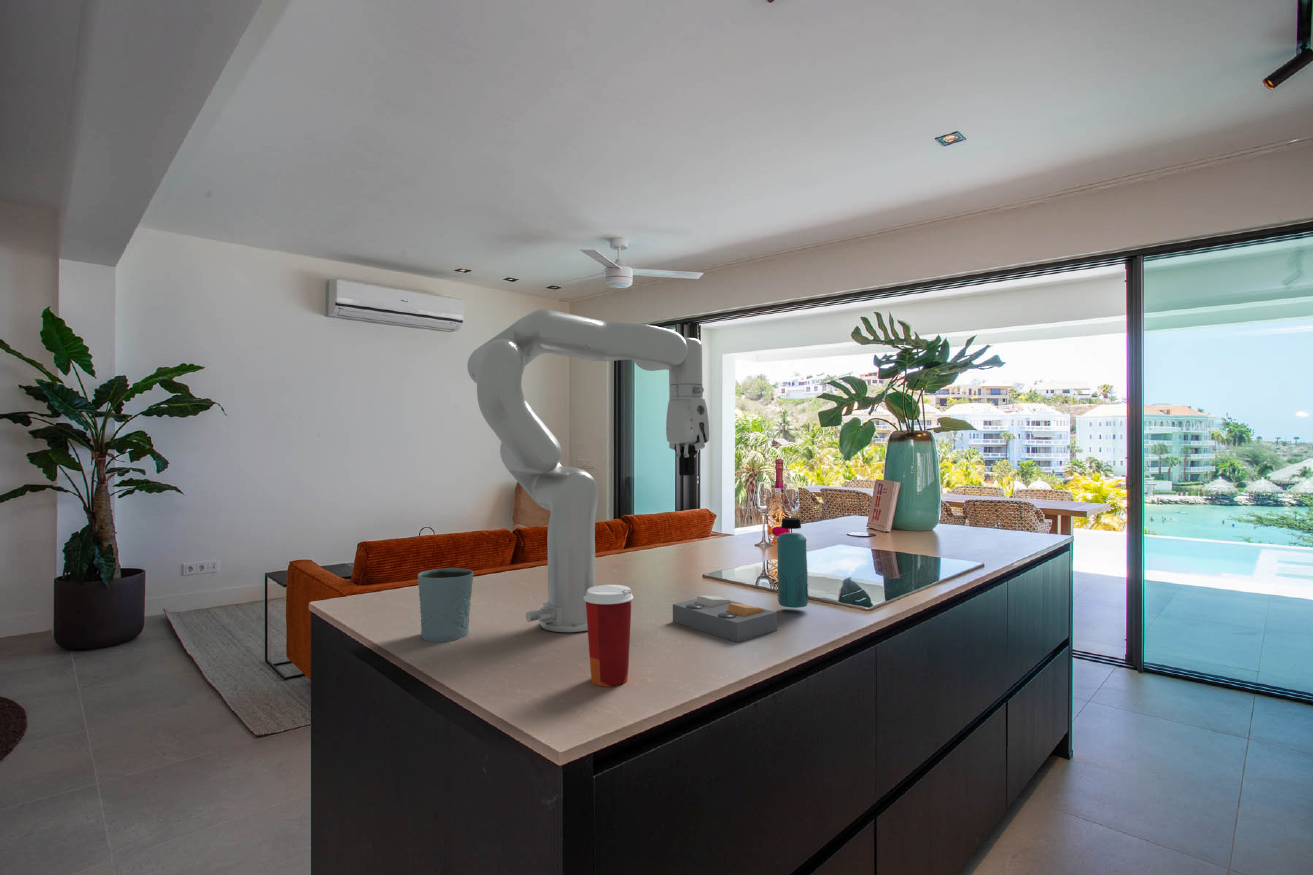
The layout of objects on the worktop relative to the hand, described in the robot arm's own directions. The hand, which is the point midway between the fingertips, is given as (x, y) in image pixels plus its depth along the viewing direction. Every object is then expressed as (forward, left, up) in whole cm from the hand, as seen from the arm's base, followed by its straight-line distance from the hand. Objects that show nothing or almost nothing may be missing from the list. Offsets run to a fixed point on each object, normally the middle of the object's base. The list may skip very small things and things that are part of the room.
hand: (686, 475), depth 145 cm
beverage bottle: (+13, -19, -29) cm, 37 cm away
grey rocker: (-4, -12, -26) cm, 29 cm away
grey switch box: (-6, -17, -29) cm, 34 cm away
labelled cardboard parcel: (-4, -21, -26) cm, 34 cm away
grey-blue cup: (-50, +14, -29) cm, 60 cm away
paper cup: (-40, -26, -29) cm, 56 cm away
